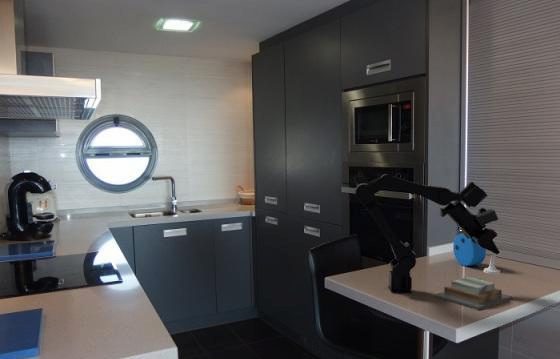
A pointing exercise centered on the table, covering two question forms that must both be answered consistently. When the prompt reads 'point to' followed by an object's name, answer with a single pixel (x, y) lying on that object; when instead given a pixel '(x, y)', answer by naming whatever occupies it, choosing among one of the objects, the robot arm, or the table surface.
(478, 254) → the alarm clock
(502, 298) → the baseplate
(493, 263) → the chess piece
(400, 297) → the table surface
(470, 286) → the stacked blocks
